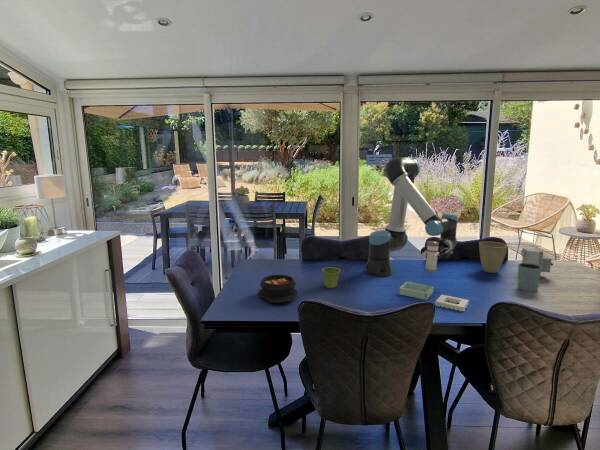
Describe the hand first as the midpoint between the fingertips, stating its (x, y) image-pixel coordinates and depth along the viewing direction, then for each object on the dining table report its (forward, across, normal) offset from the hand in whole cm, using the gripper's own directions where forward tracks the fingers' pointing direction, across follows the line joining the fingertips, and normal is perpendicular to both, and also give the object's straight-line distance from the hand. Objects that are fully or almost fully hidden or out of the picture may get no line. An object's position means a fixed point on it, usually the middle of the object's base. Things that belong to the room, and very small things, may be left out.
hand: (428, 257), depth 176 cm
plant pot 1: (+8, +45, -22) cm, 51 cm away
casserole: (+34, +59, -22) cm, 72 cm away
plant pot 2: (-67, -17, -21) cm, 72 cm away
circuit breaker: (-71, -39, -21) cm, 84 cm away
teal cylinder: (-46, -38, -21) cm, 63 cm away
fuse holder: (-2, -12, -21) cm, 24 cm away
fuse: (-5, 0, -8) cm, 10 cm away
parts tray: (-7, +6, -21) cm, 23 cm away
